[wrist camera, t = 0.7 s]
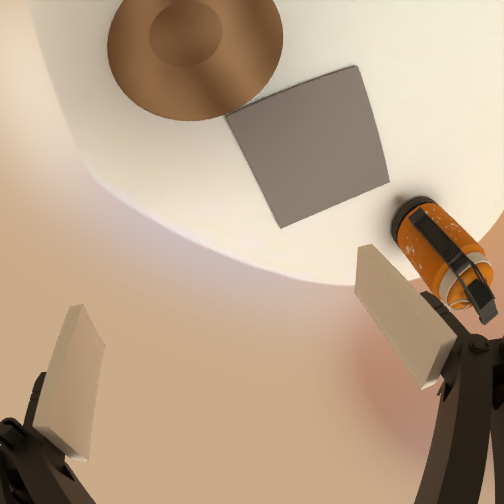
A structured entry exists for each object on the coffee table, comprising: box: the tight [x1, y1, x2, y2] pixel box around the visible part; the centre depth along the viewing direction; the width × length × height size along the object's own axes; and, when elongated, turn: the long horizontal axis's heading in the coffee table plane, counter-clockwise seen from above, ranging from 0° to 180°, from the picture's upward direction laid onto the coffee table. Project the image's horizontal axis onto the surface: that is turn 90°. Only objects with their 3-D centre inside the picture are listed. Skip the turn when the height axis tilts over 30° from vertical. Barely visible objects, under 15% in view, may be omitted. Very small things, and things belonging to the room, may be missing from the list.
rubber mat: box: [225, 66, 390, 229], centre depth 35 cm, size 16×16×1 cm
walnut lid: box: [107, 0, 283, 121], centre depth 19 cm, size 15×15×9 cm
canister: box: [392, 198, 498, 325], centre depth 35 cm, size 9×11×20 cm
